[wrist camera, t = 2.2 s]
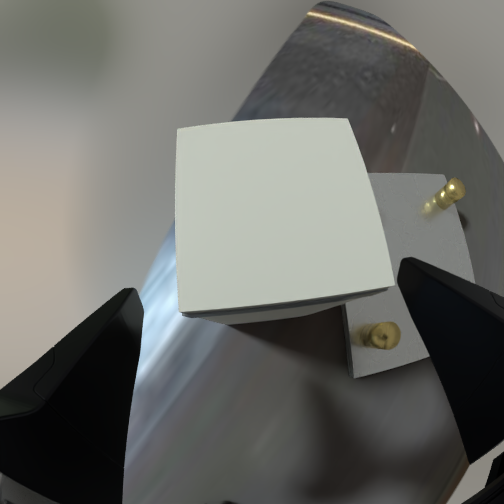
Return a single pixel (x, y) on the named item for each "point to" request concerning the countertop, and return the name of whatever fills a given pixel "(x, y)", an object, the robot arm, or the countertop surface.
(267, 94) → the countertop surface
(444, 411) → the countertop surface
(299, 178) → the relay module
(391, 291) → the plate
